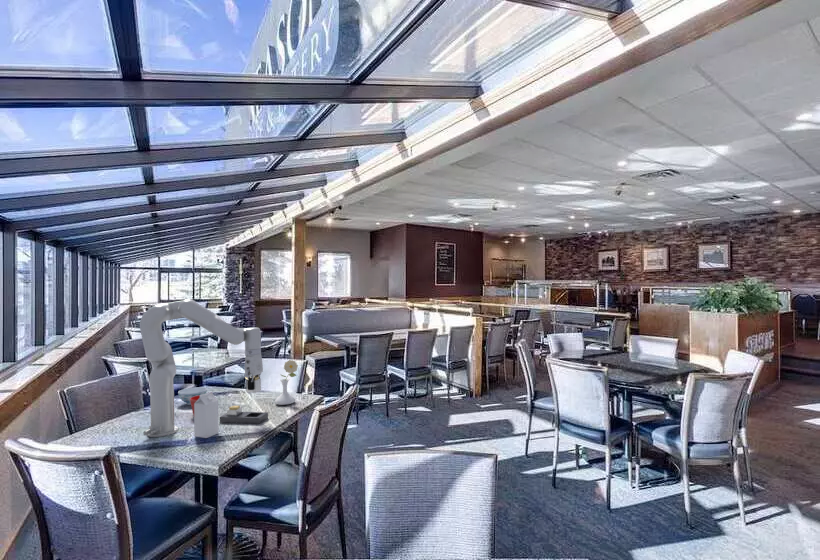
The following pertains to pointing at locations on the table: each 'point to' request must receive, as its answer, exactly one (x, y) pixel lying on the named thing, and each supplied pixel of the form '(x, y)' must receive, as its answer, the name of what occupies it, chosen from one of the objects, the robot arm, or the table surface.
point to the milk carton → (206, 416)
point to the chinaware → (191, 393)
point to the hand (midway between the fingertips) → (253, 387)
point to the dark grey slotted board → (245, 418)
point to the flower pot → (194, 402)
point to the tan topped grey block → (234, 411)
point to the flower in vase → (285, 396)
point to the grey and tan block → (255, 385)
